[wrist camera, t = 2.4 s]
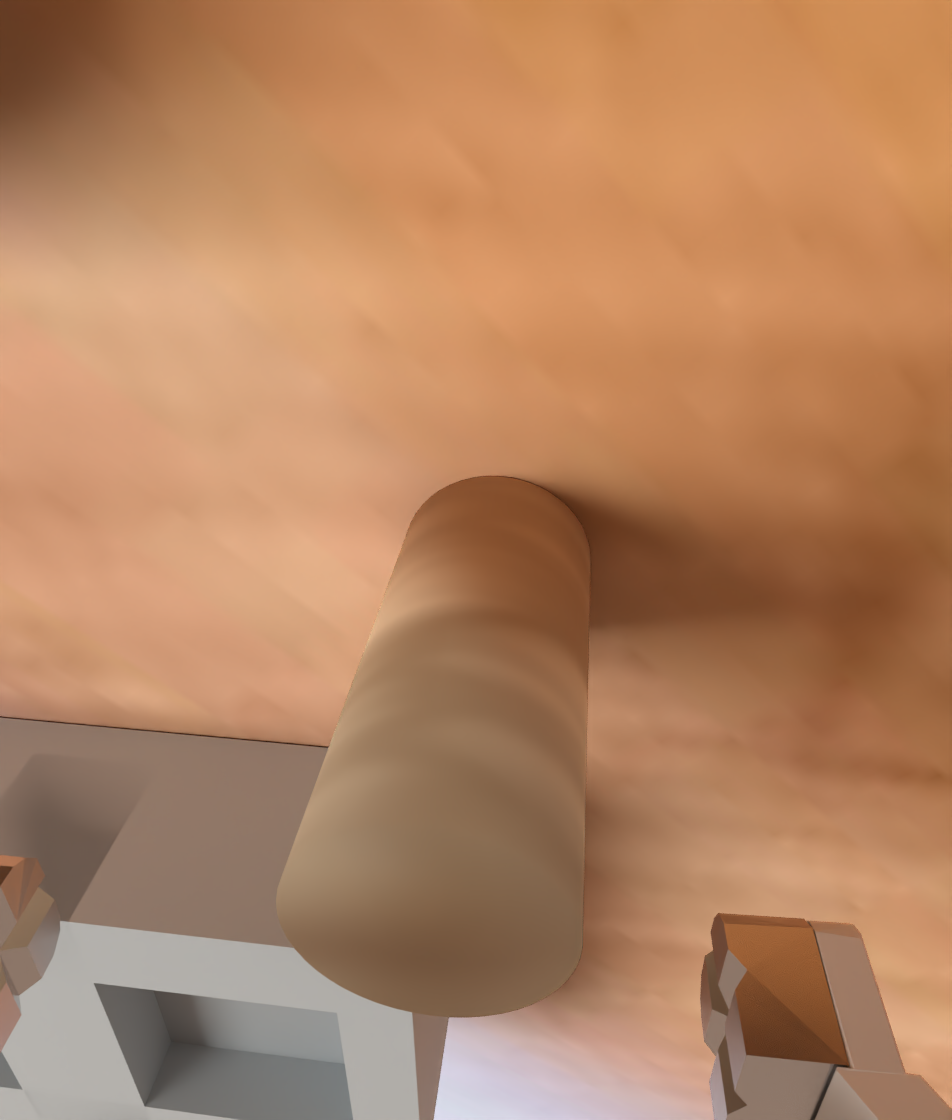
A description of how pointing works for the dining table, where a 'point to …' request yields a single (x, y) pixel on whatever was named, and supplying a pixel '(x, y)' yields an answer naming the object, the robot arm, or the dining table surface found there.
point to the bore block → (185, 942)
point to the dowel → (457, 769)
